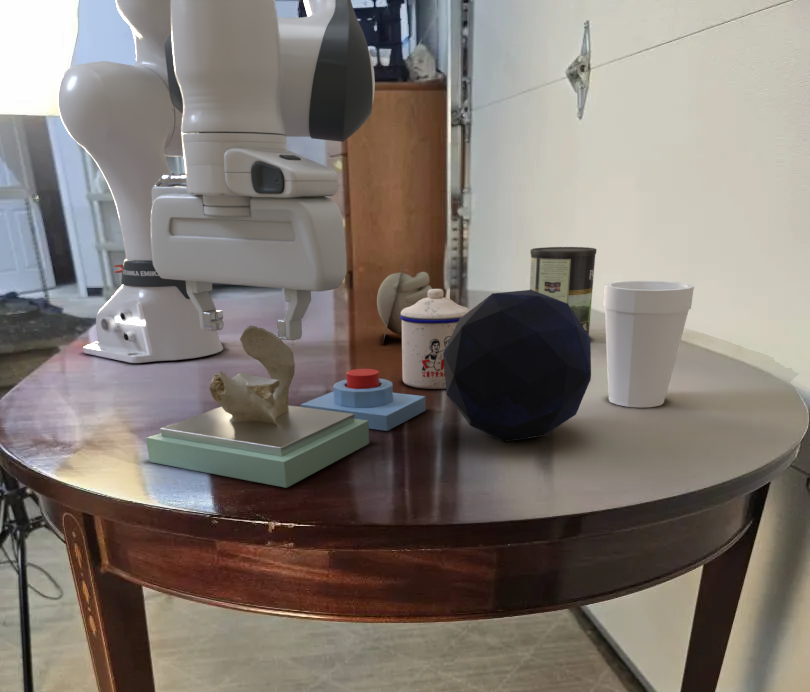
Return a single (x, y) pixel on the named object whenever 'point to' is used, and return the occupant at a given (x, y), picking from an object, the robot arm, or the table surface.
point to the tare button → (362, 378)
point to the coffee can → (565, 277)
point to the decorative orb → (518, 365)
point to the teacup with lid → (428, 339)
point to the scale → (260, 444)
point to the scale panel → (371, 404)
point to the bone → (257, 380)
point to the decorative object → (400, 297)
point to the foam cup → (643, 338)
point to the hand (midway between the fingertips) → (250, 334)
